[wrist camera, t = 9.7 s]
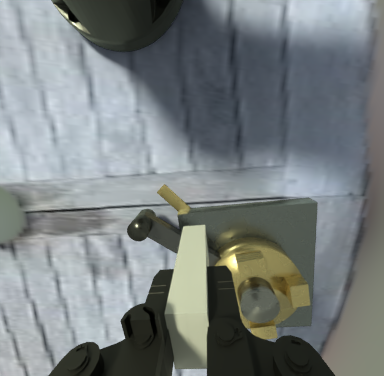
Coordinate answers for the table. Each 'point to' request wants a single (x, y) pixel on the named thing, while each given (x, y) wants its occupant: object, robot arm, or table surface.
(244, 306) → the ring nut
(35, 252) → the table surface
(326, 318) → the table surface
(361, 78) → the table surface
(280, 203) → the collar plate
